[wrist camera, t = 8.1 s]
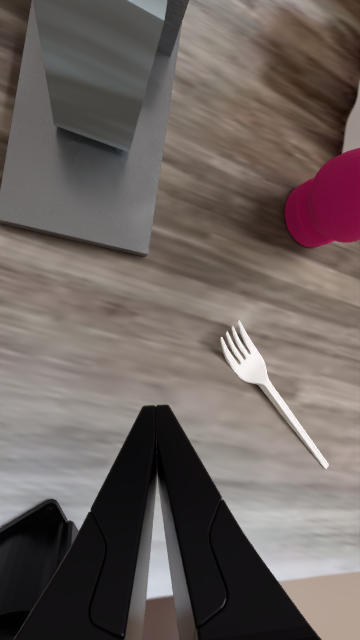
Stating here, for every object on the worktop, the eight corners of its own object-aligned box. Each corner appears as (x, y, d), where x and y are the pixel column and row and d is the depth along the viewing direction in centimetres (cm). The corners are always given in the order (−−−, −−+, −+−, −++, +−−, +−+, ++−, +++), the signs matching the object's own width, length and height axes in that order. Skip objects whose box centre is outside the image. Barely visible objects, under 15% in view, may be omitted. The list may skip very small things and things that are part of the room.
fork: (312, 475, 28) (327, 486, 27) (206, 339, 23) (216, 341, 22) (330, 452, 29) (345, 461, 27) (231, 315, 24) (242, 316, 22)
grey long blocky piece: (145, 256, 21) (172, 230, 14) (0, 223, 18) (-51, 169, 11) (186, -27, 22) (230, -176, 15) (55, -111, 18) (38, -348, 12)
